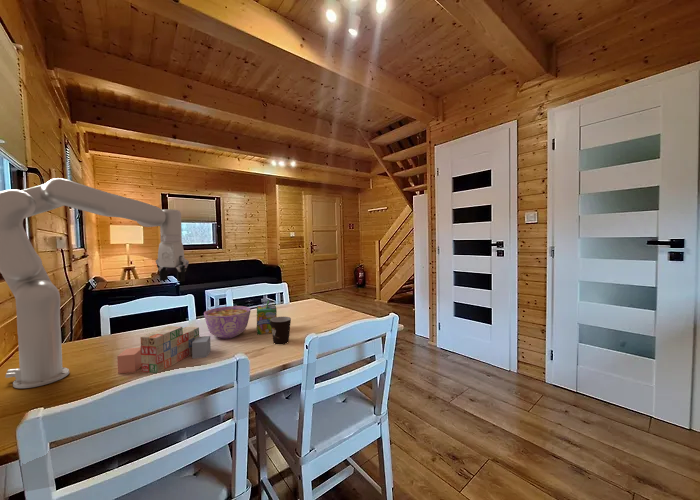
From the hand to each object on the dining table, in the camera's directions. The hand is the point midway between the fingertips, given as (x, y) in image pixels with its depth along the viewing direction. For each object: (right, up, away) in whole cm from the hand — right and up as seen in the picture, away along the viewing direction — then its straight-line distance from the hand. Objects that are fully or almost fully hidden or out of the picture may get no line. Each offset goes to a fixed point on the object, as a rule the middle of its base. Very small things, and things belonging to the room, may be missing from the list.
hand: (172, 280), depth 125 cm
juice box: (+34, -27, +20) cm, 47 cm away
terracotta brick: (-2, -28, -20) cm, 35 cm away
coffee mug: (+43, -27, +6) cm, 52 cm away
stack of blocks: (+8, -28, -13) cm, 32 cm away
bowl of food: (+18, -27, +14) cm, 35 cm away
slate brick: (+16, -28, -8) cm, 33 cm away
